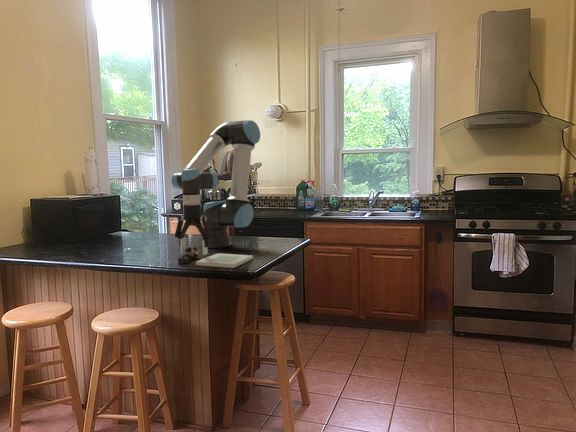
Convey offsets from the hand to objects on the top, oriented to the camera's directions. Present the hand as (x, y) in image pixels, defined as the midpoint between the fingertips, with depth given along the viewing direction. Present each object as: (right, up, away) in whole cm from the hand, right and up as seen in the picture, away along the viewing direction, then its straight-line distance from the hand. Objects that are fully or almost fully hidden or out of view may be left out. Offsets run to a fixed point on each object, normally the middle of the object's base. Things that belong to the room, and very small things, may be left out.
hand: (194, 253), depth 202 cm
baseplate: (+14, -3, -4) cm, 15 cm away
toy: (-2, -3, 0) cm, 4 cm away
